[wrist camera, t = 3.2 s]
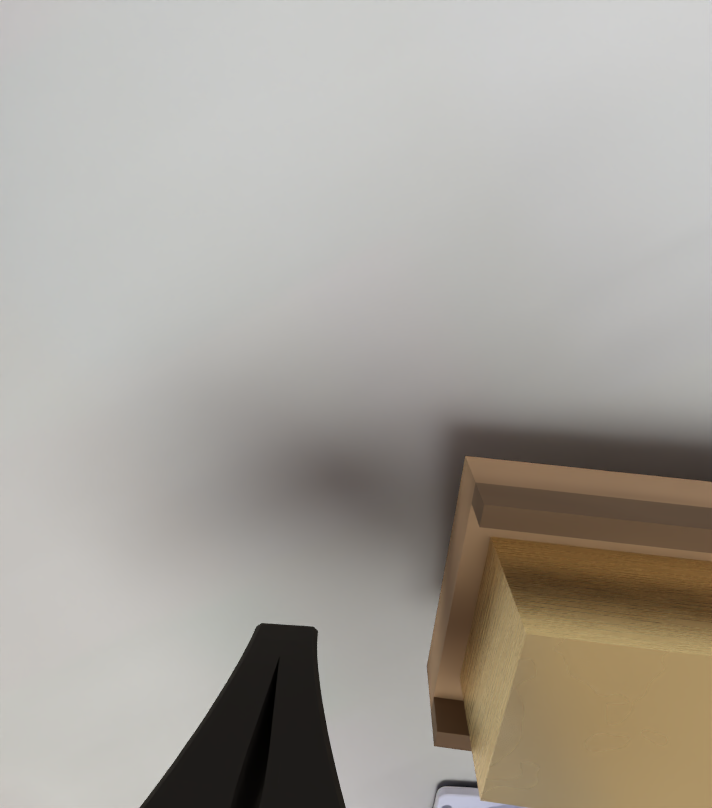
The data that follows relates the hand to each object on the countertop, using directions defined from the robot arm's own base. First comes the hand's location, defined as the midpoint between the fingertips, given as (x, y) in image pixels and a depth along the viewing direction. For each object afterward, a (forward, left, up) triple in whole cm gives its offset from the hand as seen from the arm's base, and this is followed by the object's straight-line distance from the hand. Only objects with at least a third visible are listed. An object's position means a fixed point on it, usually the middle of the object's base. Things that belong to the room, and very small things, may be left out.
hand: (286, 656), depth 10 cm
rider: (0, -8, -2) cm, 8 cm away
